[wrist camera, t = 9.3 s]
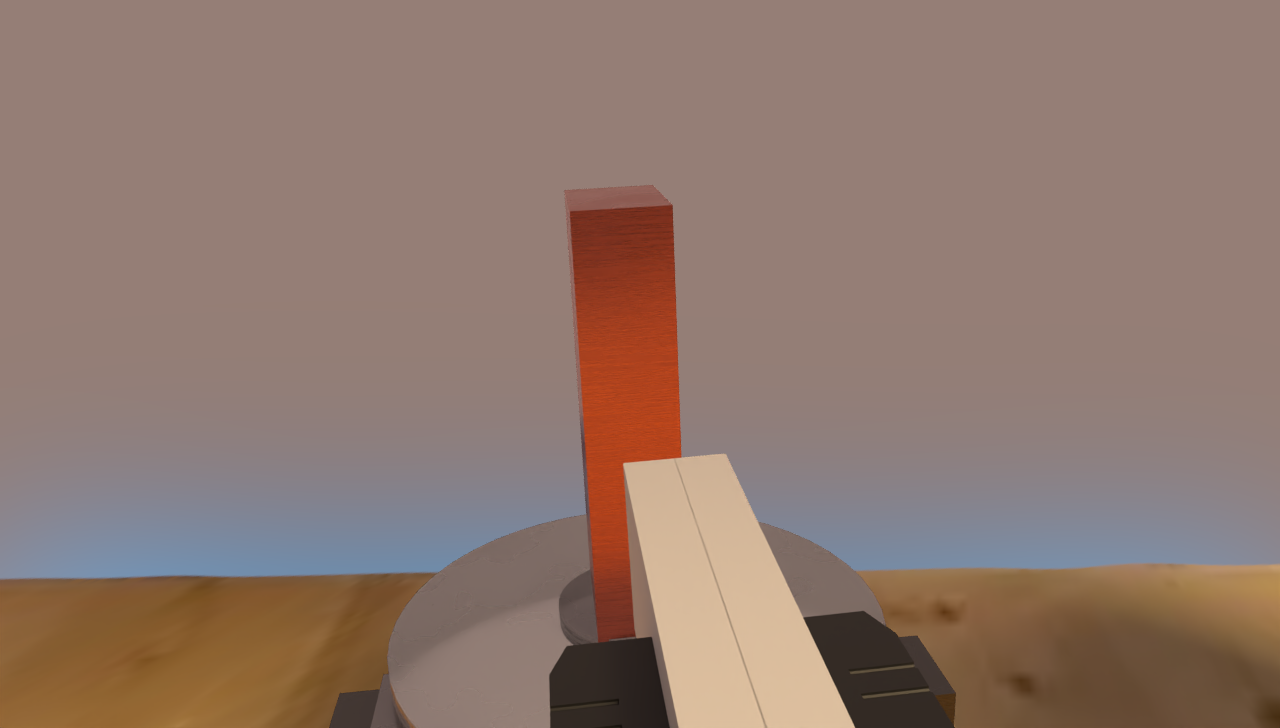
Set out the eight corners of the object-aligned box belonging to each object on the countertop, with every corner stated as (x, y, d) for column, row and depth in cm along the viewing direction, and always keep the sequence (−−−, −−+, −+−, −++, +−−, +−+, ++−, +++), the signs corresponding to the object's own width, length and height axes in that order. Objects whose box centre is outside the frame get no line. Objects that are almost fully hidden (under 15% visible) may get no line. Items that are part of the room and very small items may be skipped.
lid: (809, 513, 36) (811, 156, 32) (973, 781, 22) (1010, 222, 19) (420, 548, 34) (374, 181, 31) (348, 852, 21) (252, 271, 17)
